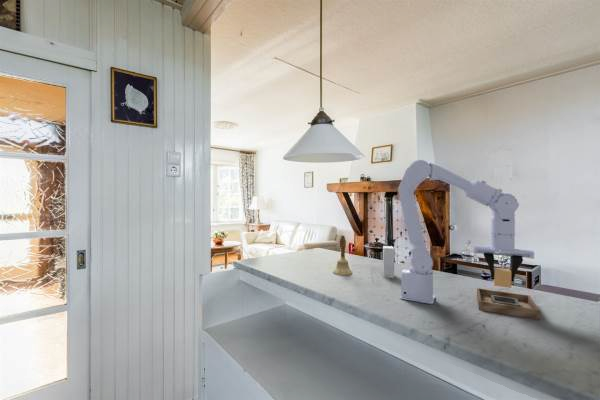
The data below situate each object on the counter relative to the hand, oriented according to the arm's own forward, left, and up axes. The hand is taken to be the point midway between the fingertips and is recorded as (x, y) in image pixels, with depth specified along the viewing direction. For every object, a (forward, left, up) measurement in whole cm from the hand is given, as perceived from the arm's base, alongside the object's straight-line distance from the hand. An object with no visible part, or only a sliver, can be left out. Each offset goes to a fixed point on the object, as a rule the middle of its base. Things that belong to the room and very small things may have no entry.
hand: (501, 279), depth 86 cm
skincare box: (-37, +18, -9) cm, 42 cm away
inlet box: (+1, +2, -9) cm, 9 cm away
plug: (0, 0, -2) cm, 2 cm away
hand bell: (-55, +13, -9) cm, 57 cm away
